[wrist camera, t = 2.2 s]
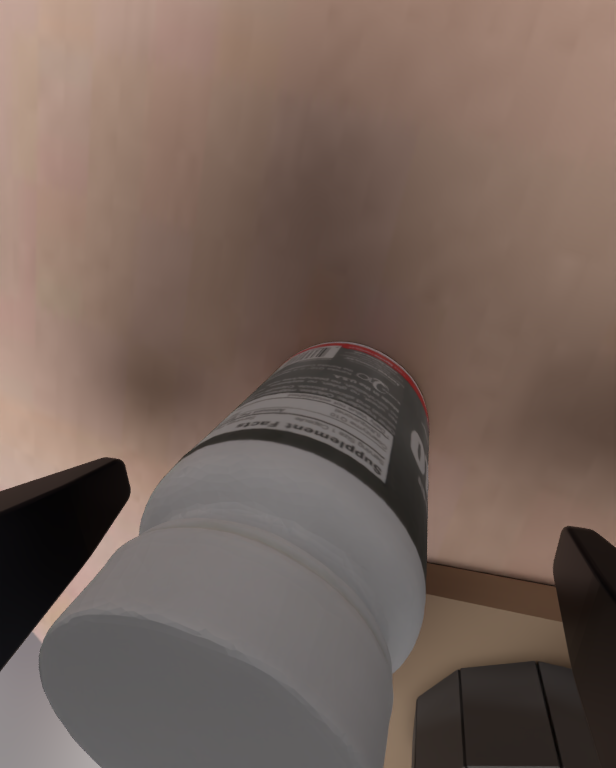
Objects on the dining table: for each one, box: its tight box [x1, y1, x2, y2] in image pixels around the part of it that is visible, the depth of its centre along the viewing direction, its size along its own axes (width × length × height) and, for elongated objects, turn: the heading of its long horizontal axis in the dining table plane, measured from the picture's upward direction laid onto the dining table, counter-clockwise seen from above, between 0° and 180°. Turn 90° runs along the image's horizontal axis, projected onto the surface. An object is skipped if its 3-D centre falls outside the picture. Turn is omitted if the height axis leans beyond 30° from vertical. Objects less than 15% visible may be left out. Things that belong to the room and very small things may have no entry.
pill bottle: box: [39, 342, 429, 768], centre depth 8 cm, size 5×5×8 cm
